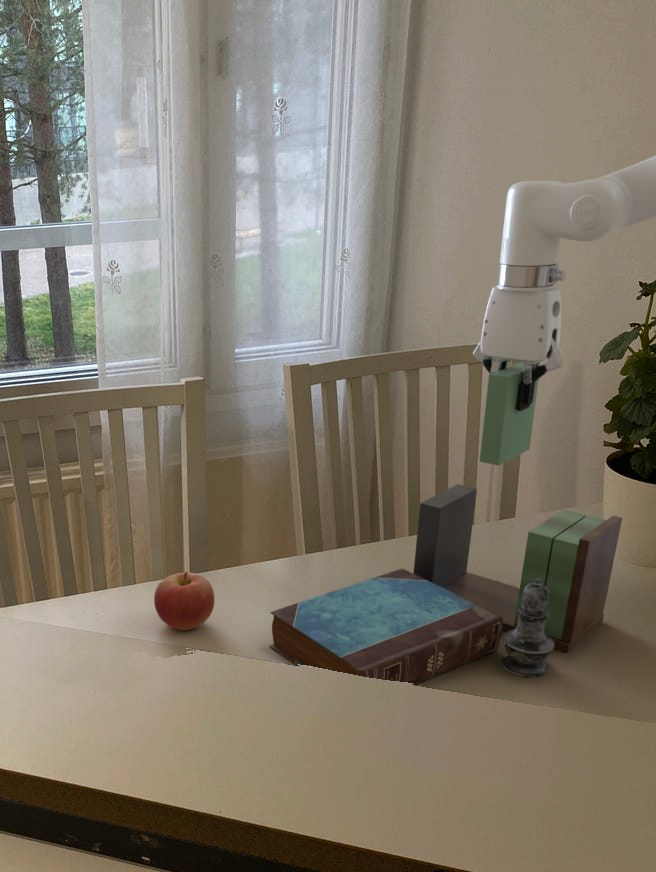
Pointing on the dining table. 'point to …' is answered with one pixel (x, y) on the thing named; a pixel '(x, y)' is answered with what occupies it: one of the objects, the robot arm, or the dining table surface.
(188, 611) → the apple
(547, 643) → the grey chess piece
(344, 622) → the book
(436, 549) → the book rack
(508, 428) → the green book
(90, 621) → the dining table surface
